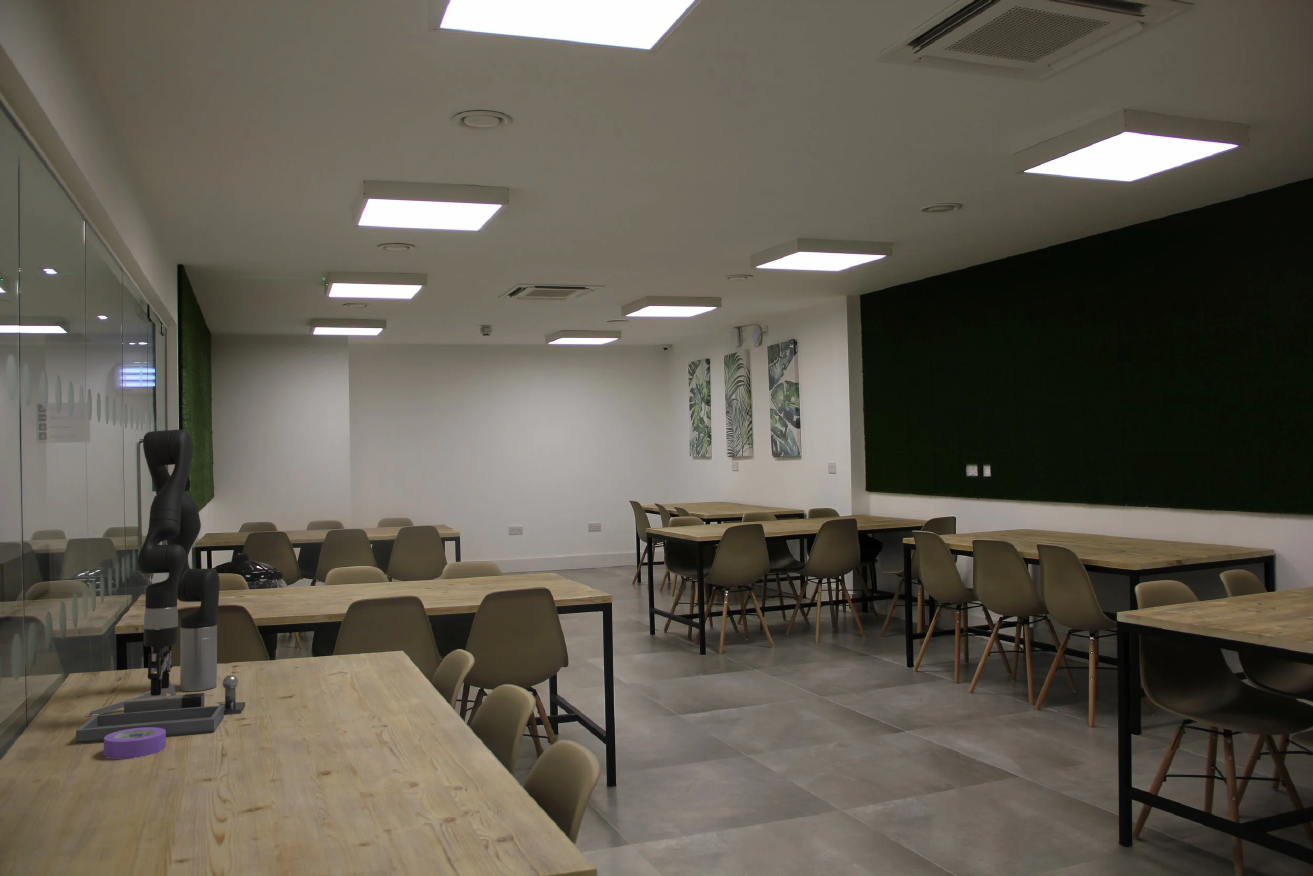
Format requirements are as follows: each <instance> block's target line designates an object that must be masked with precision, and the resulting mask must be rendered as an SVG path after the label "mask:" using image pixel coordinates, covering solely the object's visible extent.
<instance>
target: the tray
mask: <svg viewBox="0 0 1313 876" xmlns="http://www.w3.org/2000/svg"><path fill="white" fill-rule="evenodd" d="M224 717H225V716H224V705H219V704H218V705H209V706H208V705H207V706H204V707H194V708H181V709H168V710H155V711H143V712H130V713H124V712H119V713H118V712H117V713H104V714H101V715H94V716H91V718H90V719H88V720H87V721H86V722H84V723H83V724H82V725H81V726H80V727H78V728H77V729H76V730H75V745H79V744H78V743H85V744H93V743H92V742H97V743H104V737H105V736H107V735H109V734H111V733H114V732H118V731H122V730H127V729H134V728H145V727H155V728H162V729H165V730H166V738H168V737H174V736H175V737H176V736H188V735H190V736H191V735H199V734H210V733H215V731H216V730H217V728H218V727H219V726H220V724H221V722H222V721H223V719H224Z"/></svg>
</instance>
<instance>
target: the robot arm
mask: <svg viewBox="0 0 1313 876" xmlns="http://www.w3.org/2000/svg"><path fill="white" fill-rule="evenodd" d="M142 446H143V454H144V457H145V461H146V464H147V467H148V471H149V474H150V477H151V480H152V483H153V487H154V491H155V496H154V499H153V500H152V503H151V506H150V510H149V521H148V529H147V534H146V537H145V538H144V542H143V543H142V546H141V548H140V550H139V553H138V556H137V566H138V569H139V570H140V571H141V572H142V573H143V574H146V575H149V574H150V575H151V574H169V575H168V577H167V578H166V579H165V580H162V581H158V582H154V583H150V584H148V585H147V586H146V588H145V605H144V606H145V609H144V616H143V645H144V646H145V647H147V648H150V647H151V648H152V653H148V655H147V657H148V659H147V660H148V662H147V664H148V665H147V679H148V680H149V681H150V691H151V696H158V695H160V694H161V689H165V688H168V687H169V681H170V673H171V670H172V669H173V645H177V643H178V641H179V638H180V641H179V642H180V643H179V644H180V647H179V648H180V650H179V652H180V655H179V656H180V657H179V658H180V659H179V660H180V662H179V665H180V666H179V668H180V669H179V672H180V674H179V675H180V676H179V687H180V691H182V692H199V691H200V692H201V691H205V690H210V689H211V690H212V689H214V688H216V687H217V686H218V683H217V679H218V674H217V673H218V616H219V602H220V601H219V599H220V596H219V595H220V586H221V585H220V584H221V583H220V575H219V572H218V571H217V570H216V569H215V568H191V567H190V565H189V554H190V553H191V552H190V551H191V550H192V547H193V546H194V543H195V542H196V540H197V538H198V536H199V534H200V531H201V528H202V523H201V517H200V513H199V508H198V505H197V503H196V501H195V499H194V498H192V496H191V495H190V494H189V493H188V492H186V485H187V482H188V478H189V474H190V470H191V464H192V459H193V453H194V450H193V449H194V447H193V446H194V445H193V439H192V437H191V434H190V432H189V431H188V430H187V429H168V430H167V429H166V430H165V429H164V430H154V431H148V432H146V433H145V434H144V436H143V441H142ZM172 465H174V467H173V470H172V472H171V475H170V472H169V470H168V468H167V466H172ZM164 541H166V544H160V543H162V542H164ZM178 601H179V602H183V603H197V602H198V603H200V607H199V608H198V609H197V610H196V611H194V612H192V613H189V614H186V615H183V616H181V618H180V624H179V611H178ZM179 625H180V630H179ZM179 631H180V634H179ZM179 635H180V637H179Z"/></svg>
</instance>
